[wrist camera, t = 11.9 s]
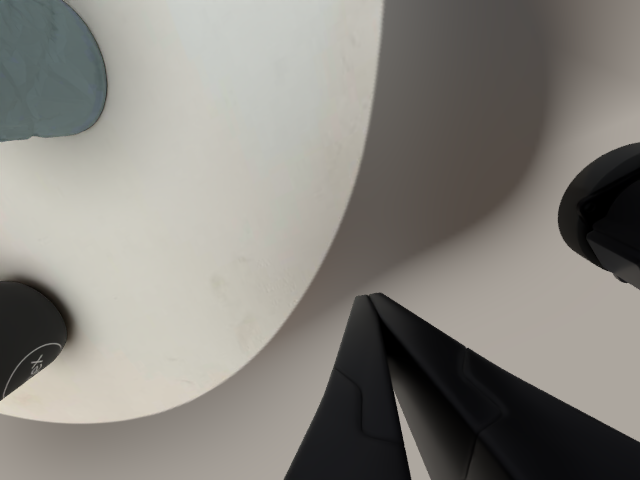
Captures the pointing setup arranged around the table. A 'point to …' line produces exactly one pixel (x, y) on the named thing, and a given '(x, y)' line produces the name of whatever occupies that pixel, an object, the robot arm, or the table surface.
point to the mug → (26, 334)
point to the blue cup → (47, 71)
